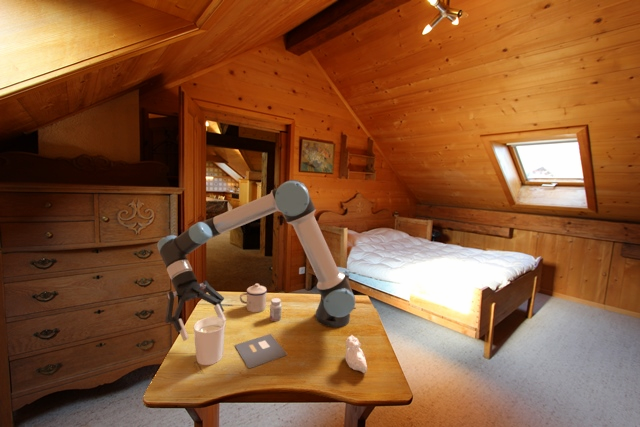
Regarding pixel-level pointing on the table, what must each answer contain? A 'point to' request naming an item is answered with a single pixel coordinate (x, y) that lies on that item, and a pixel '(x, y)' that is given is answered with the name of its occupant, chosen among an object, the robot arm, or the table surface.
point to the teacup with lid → (255, 298)
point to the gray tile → (260, 351)
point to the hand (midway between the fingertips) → (206, 330)
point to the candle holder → (209, 340)
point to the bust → (355, 355)
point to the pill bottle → (275, 309)
